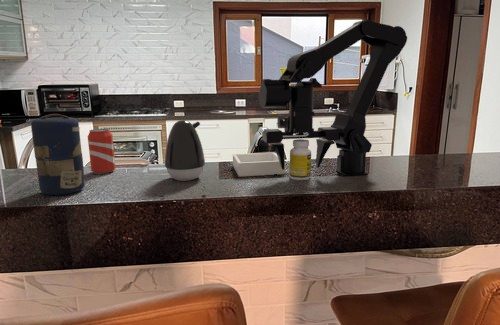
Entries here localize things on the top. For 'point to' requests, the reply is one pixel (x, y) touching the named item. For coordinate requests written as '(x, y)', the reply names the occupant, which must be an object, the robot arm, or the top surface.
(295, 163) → the supplement bottle
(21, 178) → the top surface
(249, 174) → the tray
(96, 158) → the beverage can
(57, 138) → the canister
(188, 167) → the pump dispenser
